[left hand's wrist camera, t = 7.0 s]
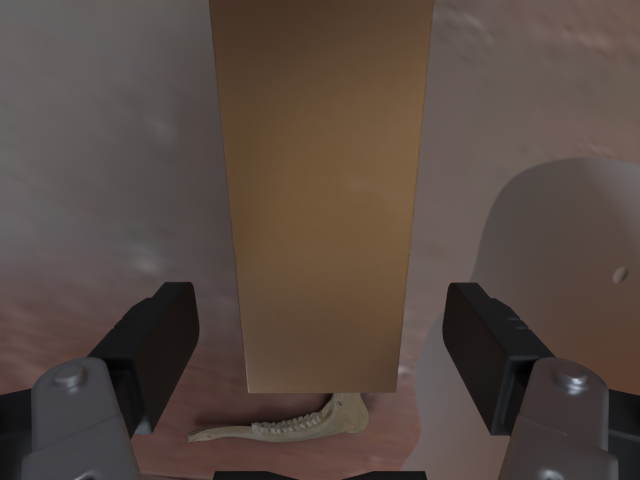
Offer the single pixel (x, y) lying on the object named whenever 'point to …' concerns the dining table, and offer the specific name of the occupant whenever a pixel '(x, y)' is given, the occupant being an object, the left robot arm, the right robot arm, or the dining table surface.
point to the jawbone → (300, 423)
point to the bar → (321, 182)
